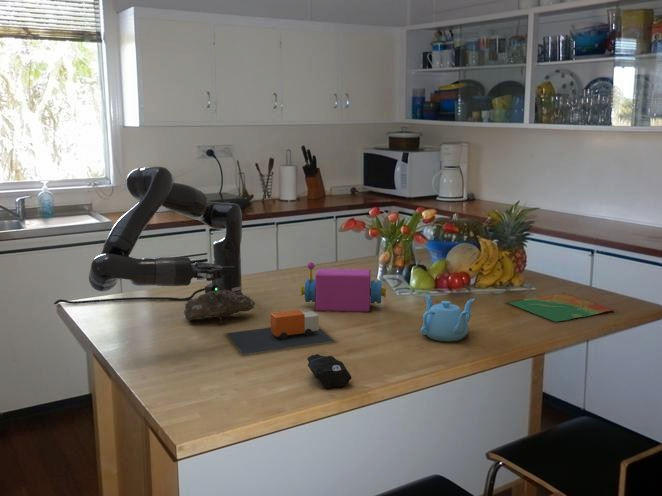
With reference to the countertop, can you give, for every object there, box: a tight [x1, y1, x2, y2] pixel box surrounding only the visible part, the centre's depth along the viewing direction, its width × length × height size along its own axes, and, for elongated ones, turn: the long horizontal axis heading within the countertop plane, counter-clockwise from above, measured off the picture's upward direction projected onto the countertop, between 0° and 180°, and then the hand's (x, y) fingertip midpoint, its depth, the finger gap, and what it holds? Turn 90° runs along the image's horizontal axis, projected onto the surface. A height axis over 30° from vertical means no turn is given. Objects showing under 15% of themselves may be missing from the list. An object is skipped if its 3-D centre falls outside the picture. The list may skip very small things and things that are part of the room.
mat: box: [227, 327, 335, 355], centre depth 188 cm, size 26×18×1 cm
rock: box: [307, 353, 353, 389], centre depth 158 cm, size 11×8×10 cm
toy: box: [300, 261, 387, 313], centre depth 217 cm, size 28×9×15 cm, turn 86°
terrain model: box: [508, 292, 615, 323], centre depth 218 cm, size 25×22×1 cm
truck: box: [269, 309, 320, 340], centre depth 190 cm, size 7×5×13 cm
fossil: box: [183, 290, 256, 324], centre depth 203 cm, size 22×10×15 cm
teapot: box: [420, 293, 476, 342], centre depth 190 cm, size 15×15×10 cm
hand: (234, 270), depth 180 cm, fingers closed
